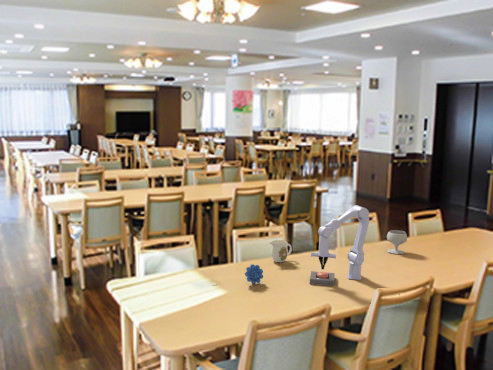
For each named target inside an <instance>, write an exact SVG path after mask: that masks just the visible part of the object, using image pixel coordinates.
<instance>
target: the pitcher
mask: <svg viewBox="0 0 493 370" xmlns="http://www.w3.org/2000/svg"><path fill="white" fill-rule="evenodd" d="M269 244H271V251H270V252H271V258H272V260H273V262H274V261H275V262H274V263H276V262H283V263H285V262H286V260H287V257H289V256H290V255H291V253H292V251H293V248H292V245H291V244H290V243H288V242H287V241H286V240H278V239H277V240H272V241H269ZM288 247H289V249H288Z"/></svg>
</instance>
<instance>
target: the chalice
mask: <svg viewBox="0 0 493 370" xmlns="http://www.w3.org/2000/svg"><path fill="white" fill-rule="evenodd" d="M386 239H387V241H388V242H389V243H391V244H392V245H393V246H394V248H390V249H387V250H386V251H387V252H388V253H391V254H394V255H403V254H405V250H401V249H399V246H400V245H403V244H405V243H406V242H407V241H408V235H407V233H406V231H403V230H398V229H394V230H393V229H391V230H389V231H388V232H387V235H386Z"/></svg>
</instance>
